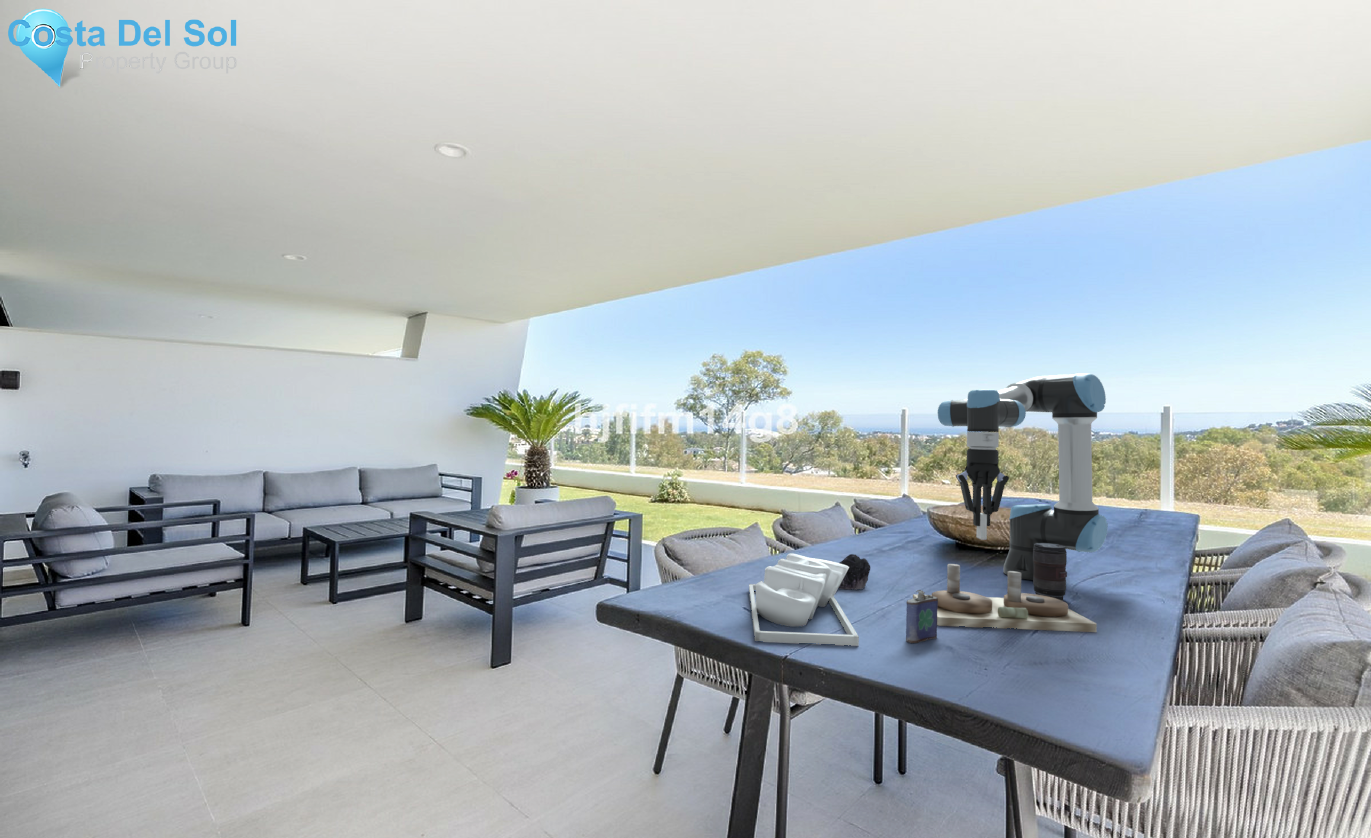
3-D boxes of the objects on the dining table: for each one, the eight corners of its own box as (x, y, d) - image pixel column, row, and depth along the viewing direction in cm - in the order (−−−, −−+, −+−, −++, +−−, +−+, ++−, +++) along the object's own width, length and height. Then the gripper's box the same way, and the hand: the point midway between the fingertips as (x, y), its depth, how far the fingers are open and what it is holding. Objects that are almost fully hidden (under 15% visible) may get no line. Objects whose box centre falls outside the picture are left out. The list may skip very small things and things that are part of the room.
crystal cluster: (812, 586, 182) (813, 553, 181) (840, 575, 191) (841, 545, 190) (850, 599, 172) (851, 565, 171) (877, 588, 181) (878, 555, 180)
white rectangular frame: (827, 594, 170) (827, 587, 170) (858, 646, 129) (858, 636, 129) (749, 591, 172) (749, 584, 172) (755, 641, 131) (755, 632, 131)
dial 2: (992, 599, 159) (992, 566, 159) (1043, 599, 160) (1043, 566, 160) (1025, 616, 145) (1026, 579, 145) (1081, 616, 146) (1082, 579, 146)
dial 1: (978, 598, 160) (978, 564, 160) (1002, 614, 146) (1002, 577, 146) (924, 596, 161) (924, 563, 161) (942, 612, 147) (942, 575, 147)
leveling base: (1051, 607, 162) (1051, 590, 162) (1096, 632, 142) (1096, 613, 142) (912, 601, 164) (913, 585, 164) (938, 625, 144) (938, 607, 144)
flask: (912, 644, 131) (913, 594, 131) (901, 640, 134) (902, 591, 134) (940, 637, 136) (940, 589, 136) (928, 633, 138) (929, 586, 139)
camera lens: (1057, 595, 174) (1057, 542, 174) (1072, 603, 166) (1072, 548, 166) (1027, 593, 175) (1027, 541, 175) (1041, 601, 167) (1041, 547, 167)
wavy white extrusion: (795, 581, 174) (800, 545, 173) (852, 598, 165) (856, 560, 164) (738, 617, 145) (742, 575, 144) (802, 640, 136) (807, 595, 135)
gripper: (962, 448, 156) (961, 540, 156) (1014, 449, 155) (1014, 542, 155) (951, 447, 163) (950, 535, 163) (1001, 448, 162) (1000, 536, 162)
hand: (981, 538), depth 159 cm, fingers closed
